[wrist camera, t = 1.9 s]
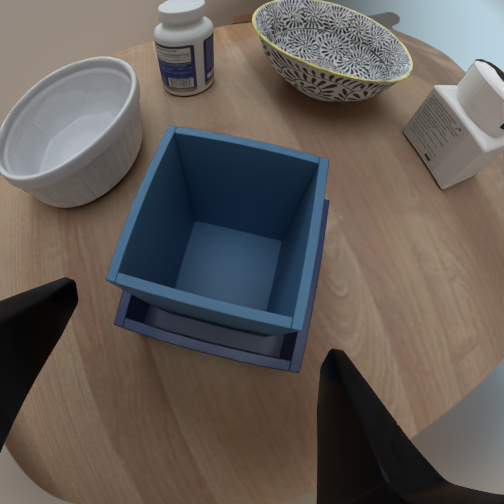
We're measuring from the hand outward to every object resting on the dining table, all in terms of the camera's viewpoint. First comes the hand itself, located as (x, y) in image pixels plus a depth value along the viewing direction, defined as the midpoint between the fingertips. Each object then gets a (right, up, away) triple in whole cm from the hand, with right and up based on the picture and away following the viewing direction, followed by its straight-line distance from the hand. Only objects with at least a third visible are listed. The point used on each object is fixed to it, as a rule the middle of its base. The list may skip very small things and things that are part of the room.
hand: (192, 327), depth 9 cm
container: (+23, +13, +17) cm, 32 cm away
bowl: (+9, +21, +19) cm, 30 cm away
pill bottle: (-5, +20, +18) cm, 27 cm away
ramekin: (-13, +11, +14) cm, 22 cm away
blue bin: (0, +1, +11) cm, 11 cm away
